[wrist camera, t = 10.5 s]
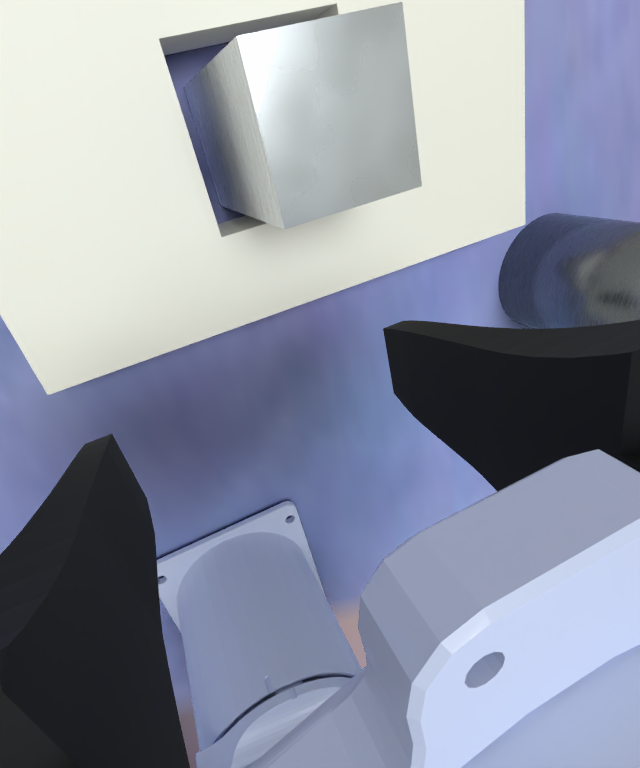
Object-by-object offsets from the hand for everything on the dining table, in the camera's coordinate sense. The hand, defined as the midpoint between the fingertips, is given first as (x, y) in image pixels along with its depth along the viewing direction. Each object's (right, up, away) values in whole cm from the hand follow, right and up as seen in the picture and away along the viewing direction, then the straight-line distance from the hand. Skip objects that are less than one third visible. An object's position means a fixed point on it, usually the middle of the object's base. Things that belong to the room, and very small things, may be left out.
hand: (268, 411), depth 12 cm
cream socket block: (-1, +10, +6) cm, 12 cm away
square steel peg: (-1, +10, +6) cm, 12 cm away
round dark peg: (+14, +7, +14) cm, 21 cm away
